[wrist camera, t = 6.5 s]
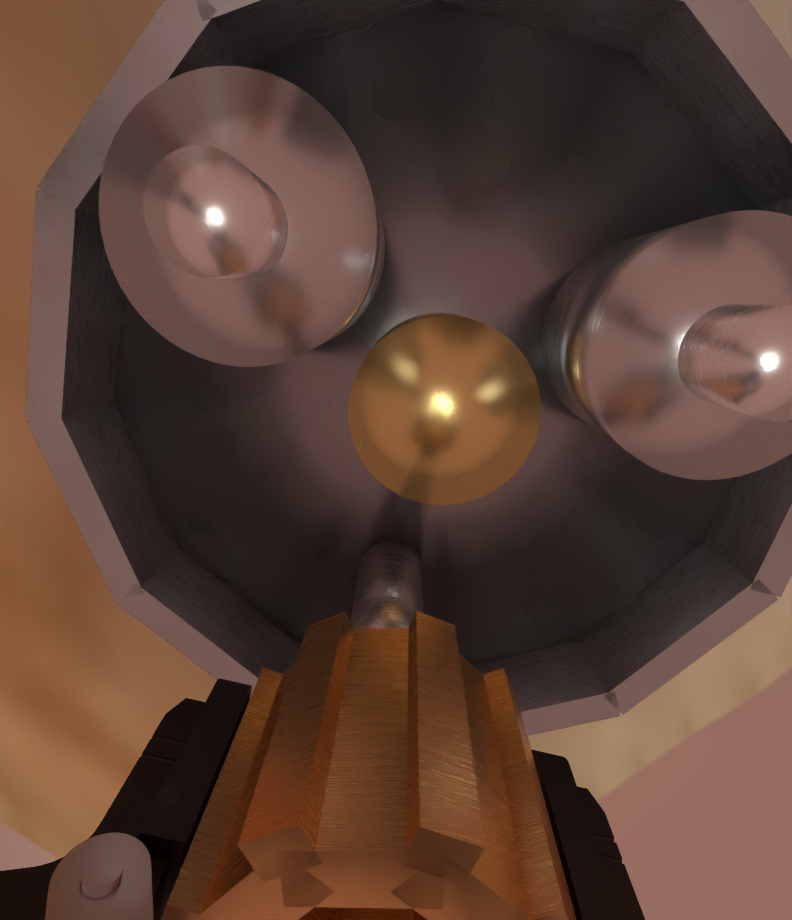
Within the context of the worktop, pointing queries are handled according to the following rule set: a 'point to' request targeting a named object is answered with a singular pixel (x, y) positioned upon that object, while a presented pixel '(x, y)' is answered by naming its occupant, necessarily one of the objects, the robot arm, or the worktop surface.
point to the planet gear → (376, 792)
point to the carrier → (430, 332)
